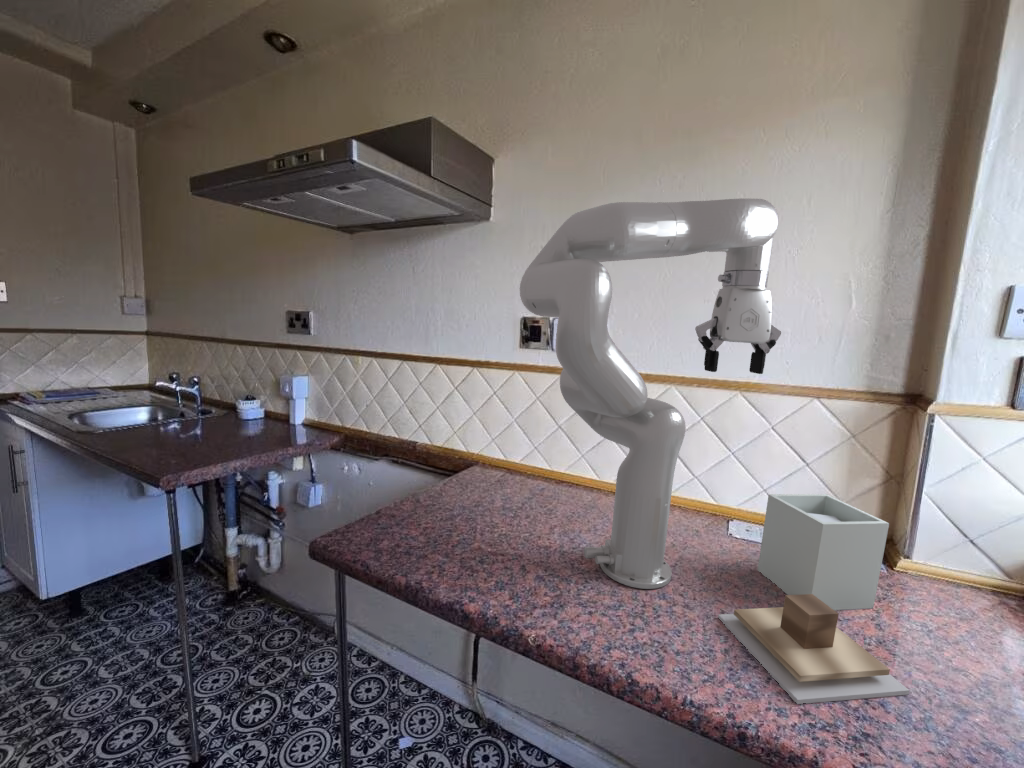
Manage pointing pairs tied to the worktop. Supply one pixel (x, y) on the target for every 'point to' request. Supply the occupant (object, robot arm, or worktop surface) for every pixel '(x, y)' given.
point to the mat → (818, 688)
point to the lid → (810, 640)
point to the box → (822, 550)
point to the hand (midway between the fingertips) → (733, 372)
